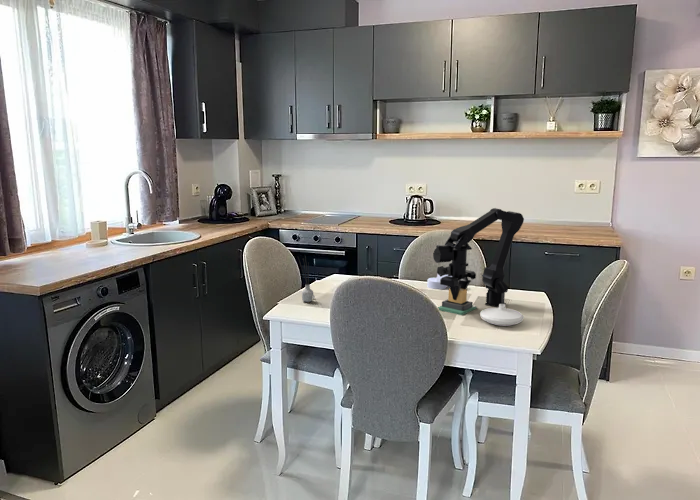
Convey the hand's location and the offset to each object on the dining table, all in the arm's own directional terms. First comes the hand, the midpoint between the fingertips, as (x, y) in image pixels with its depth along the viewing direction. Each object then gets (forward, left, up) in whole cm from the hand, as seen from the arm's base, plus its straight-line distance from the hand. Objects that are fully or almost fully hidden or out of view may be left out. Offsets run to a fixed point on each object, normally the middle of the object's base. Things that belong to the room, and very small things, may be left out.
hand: (457, 298), depth 223 cm
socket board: (0, 0, -4) cm, 4 cm away
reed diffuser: (+54, +32, -5) cm, 63 cm away
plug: (0, 0, -1) cm, 1 cm away
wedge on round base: (+23, -26, -5) cm, 35 cm away
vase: (-21, +4, -5) cm, 22 cm away
